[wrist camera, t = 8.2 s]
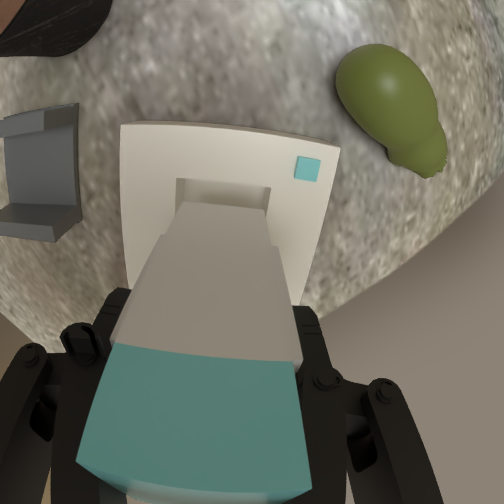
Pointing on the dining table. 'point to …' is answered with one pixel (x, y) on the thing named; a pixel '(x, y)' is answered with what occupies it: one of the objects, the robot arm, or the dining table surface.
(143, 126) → the port block
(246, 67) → the dining table surface
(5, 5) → the travel mug
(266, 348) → the plug
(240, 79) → the dining table surface
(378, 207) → the dining table surface
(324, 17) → the dining table surface
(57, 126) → the holster
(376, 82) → the pear
